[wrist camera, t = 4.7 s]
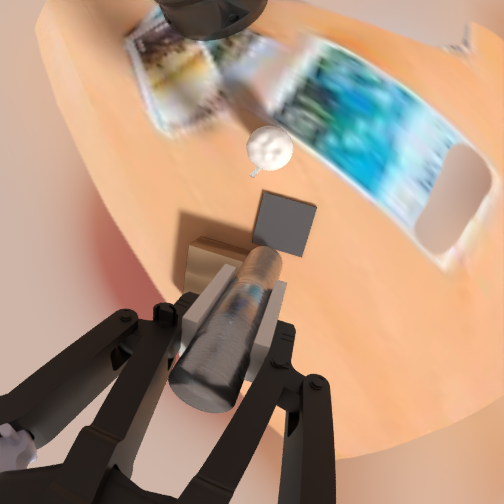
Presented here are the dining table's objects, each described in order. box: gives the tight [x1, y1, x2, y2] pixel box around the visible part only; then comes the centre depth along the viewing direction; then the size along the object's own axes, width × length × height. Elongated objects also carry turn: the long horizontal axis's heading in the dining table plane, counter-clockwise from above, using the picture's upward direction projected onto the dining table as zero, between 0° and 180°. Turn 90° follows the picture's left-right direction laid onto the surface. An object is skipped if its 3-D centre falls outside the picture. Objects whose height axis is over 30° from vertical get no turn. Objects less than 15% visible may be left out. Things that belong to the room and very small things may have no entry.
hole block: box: [183, 236, 251, 295], centre depth 39 cm, size 12×12×4 cm
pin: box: [168, 246, 282, 413], centre depth 16 cm, size 3×3×14 cm
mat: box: [252, 192, 317, 257], centre depth 36 cm, size 7×7×1 cm
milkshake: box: [247, 126, 293, 177], centre depth 28 cm, size 5×5×10 cm
